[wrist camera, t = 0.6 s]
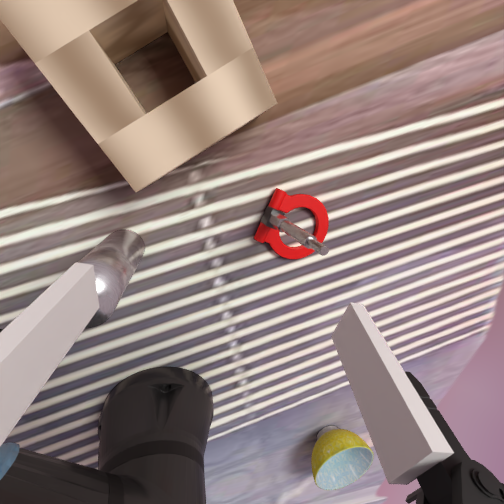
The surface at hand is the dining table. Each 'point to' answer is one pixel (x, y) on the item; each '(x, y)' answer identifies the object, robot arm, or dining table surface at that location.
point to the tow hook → (277, 222)
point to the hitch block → (117, 90)
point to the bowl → (339, 458)
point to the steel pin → (113, 269)
